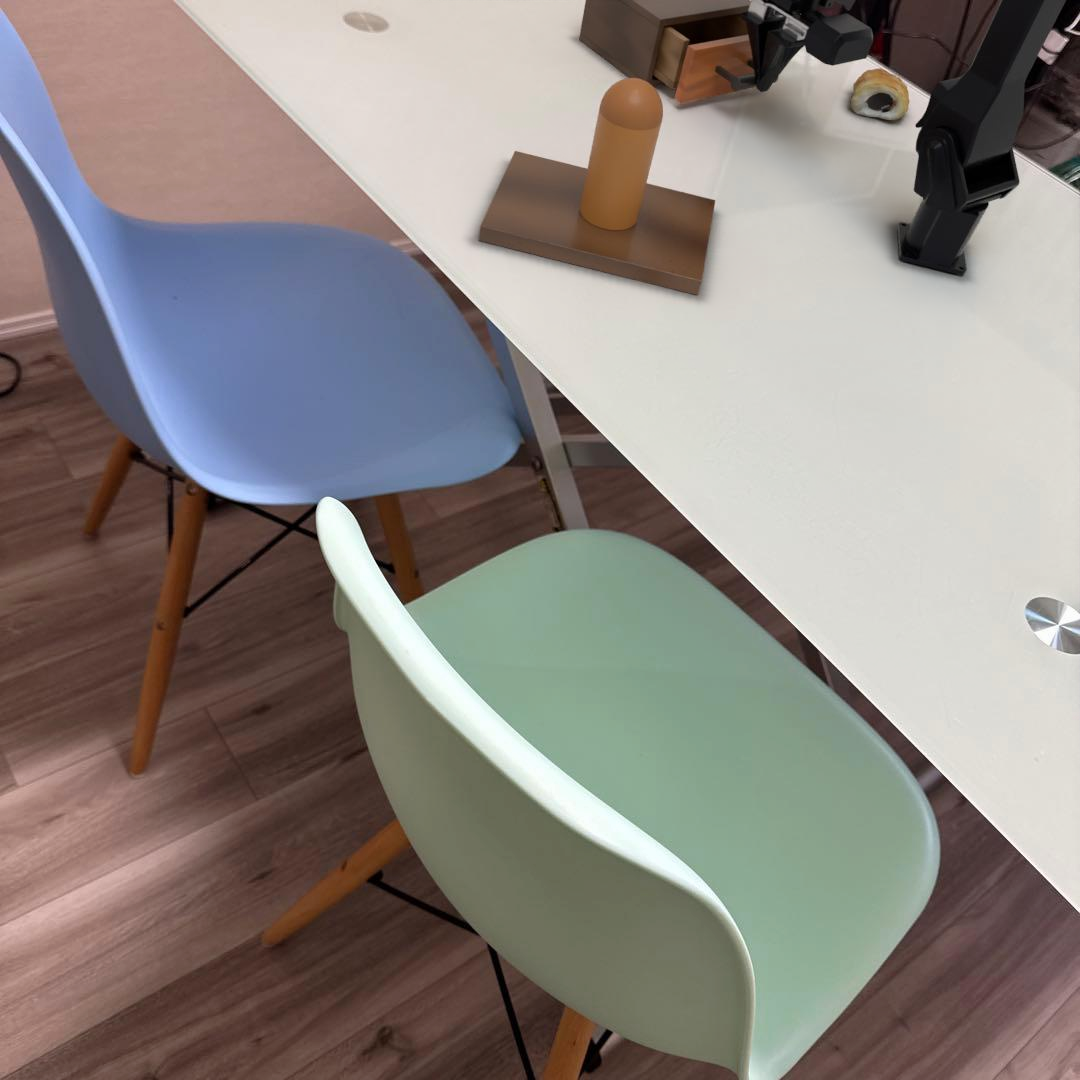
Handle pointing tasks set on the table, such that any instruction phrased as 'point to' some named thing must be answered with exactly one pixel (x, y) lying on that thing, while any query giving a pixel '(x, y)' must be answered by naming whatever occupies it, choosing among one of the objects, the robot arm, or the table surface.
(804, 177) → the table surface
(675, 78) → the drawer
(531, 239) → the board
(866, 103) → the pastry
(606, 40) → the cabinet
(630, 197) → the dome-topped orange cylinder
